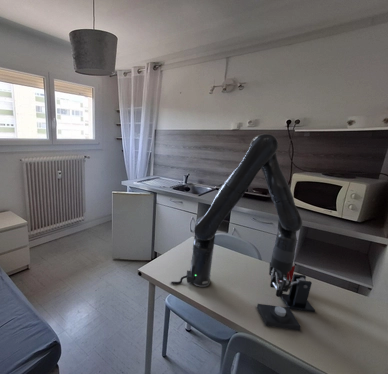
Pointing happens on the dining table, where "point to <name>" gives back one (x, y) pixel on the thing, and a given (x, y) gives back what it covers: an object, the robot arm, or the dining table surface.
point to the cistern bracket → (298, 295)
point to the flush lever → (291, 282)
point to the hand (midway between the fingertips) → (275, 291)
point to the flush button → (280, 311)
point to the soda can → (290, 273)
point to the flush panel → (278, 317)
